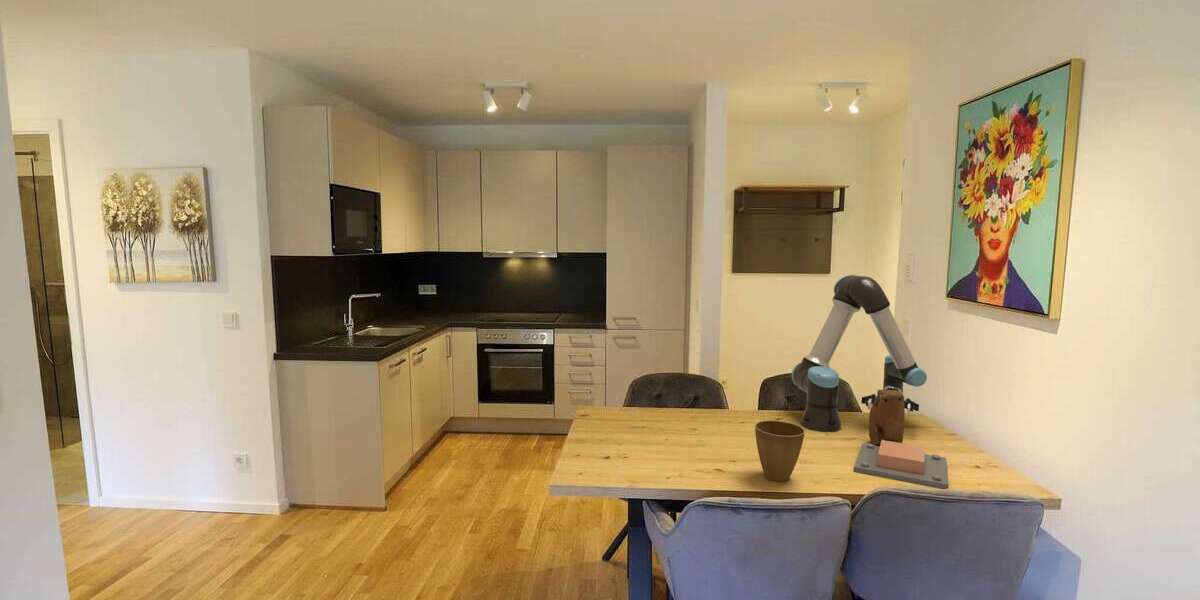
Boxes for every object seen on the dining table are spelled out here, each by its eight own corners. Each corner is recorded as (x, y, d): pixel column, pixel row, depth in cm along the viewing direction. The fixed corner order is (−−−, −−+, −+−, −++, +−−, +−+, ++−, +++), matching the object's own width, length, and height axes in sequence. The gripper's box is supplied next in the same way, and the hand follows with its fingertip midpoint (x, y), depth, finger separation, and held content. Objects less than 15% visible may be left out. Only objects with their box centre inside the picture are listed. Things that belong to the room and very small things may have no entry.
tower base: (853, 471, 180) (854, 454, 180) (861, 447, 202) (862, 432, 202) (948, 489, 167) (949, 471, 167) (945, 461, 189) (946, 446, 189)
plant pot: (750, 482, 170) (752, 431, 169) (755, 465, 184) (757, 418, 183) (802, 490, 165) (804, 438, 164) (803, 472, 179) (805, 423, 178)
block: (894, 440, 210) (897, 388, 208) (905, 447, 203) (908, 394, 201) (865, 440, 211) (868, 388, 209) (874, 447, 203) (877, 393, 201)
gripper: (925, 409, 226) (925, 423, 208) (858, 401, 239) (852, 413, 221) (926, 391, 226) (926, 403, 207) (859, 383, 238) (853, 394, 220)
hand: (888, 408), depth 214 cm, fingers open, 13 cm apart
